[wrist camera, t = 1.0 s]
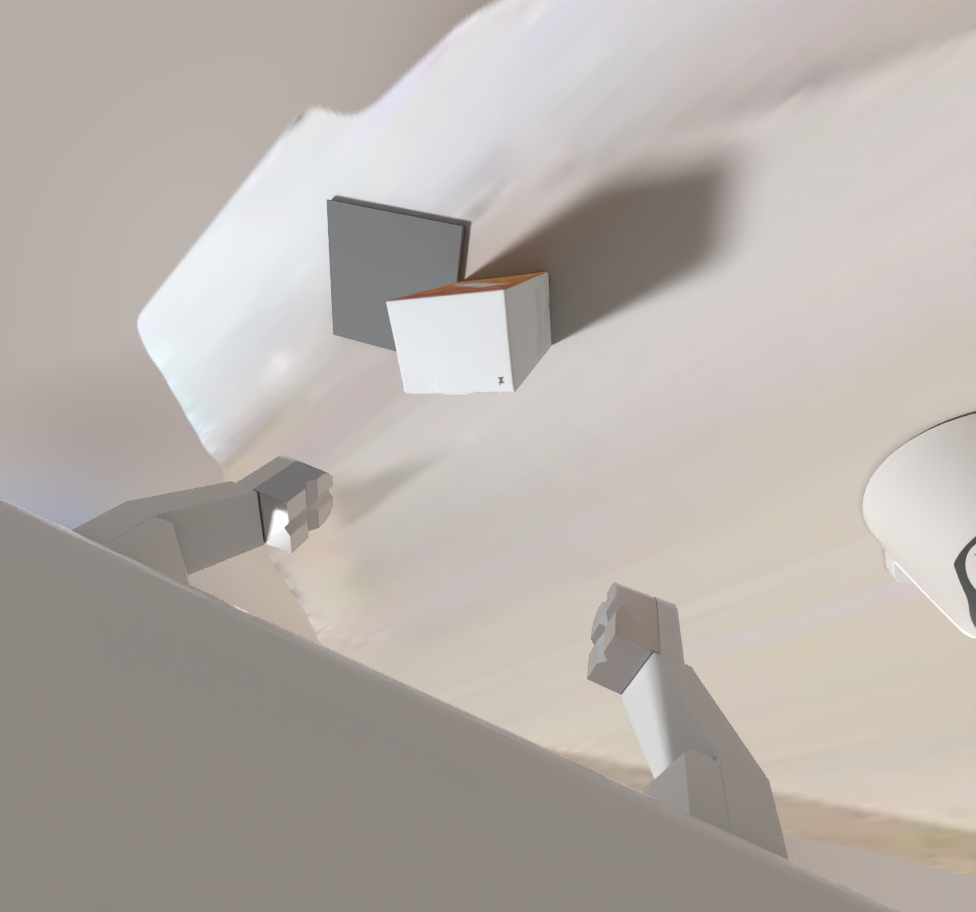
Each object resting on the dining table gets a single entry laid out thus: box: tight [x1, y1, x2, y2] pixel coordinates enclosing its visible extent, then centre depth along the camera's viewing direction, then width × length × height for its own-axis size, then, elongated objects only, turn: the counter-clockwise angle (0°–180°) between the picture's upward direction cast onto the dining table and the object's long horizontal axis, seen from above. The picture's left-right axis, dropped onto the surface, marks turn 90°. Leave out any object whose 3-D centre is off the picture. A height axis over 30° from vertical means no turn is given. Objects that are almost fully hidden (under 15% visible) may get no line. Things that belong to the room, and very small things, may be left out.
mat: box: [327, 200, 465, 351], centre depth 38 cm, size 13×12×1 cm
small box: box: [386, 271, 552, 395], centre depth 30 cm, size 8×6×13 cm
